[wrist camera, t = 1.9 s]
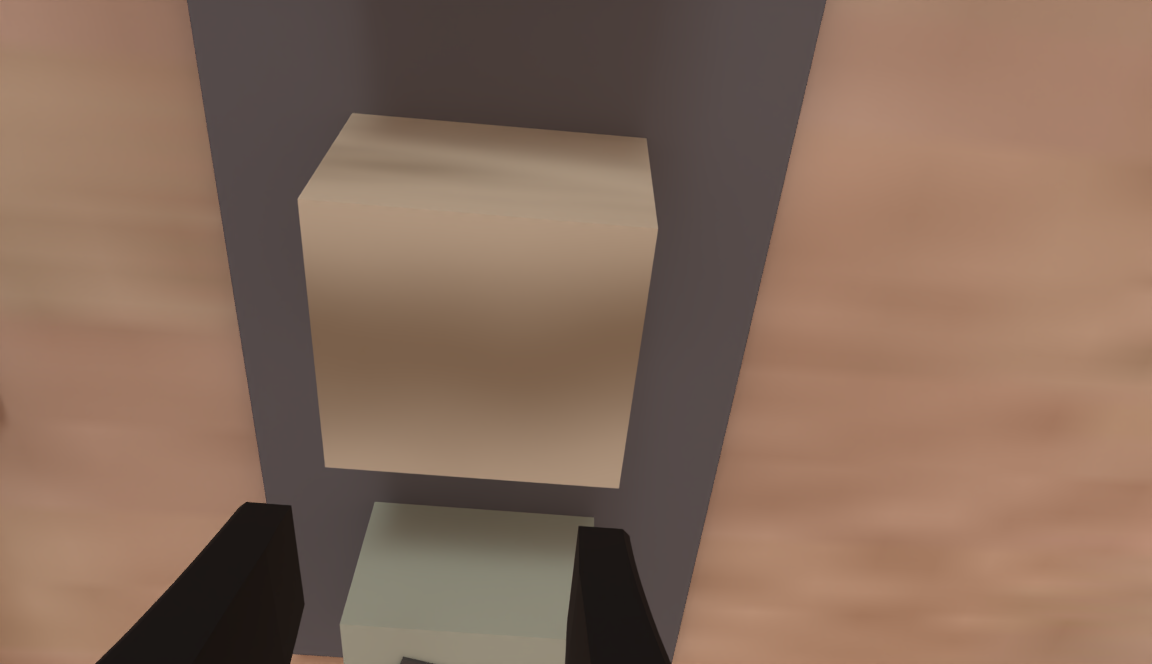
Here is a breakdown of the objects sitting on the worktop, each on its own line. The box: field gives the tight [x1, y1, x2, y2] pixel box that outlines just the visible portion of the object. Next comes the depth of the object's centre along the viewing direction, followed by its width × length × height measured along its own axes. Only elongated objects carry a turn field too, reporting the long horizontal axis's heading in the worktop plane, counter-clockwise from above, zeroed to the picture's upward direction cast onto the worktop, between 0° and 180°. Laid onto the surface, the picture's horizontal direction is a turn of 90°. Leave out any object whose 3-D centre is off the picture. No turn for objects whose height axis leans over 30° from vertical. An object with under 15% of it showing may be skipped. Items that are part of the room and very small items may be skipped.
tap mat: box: [187, 0, 826, 664], centre depth 20 cm, size 30×12×1 cm, turn 175°
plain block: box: [297, 113, 658, 489], centre depth 18 cm, size 6×6×4 cm
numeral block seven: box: [340, 502, 594, 664], centre depth 24 cm, size 6×6×4 cm
